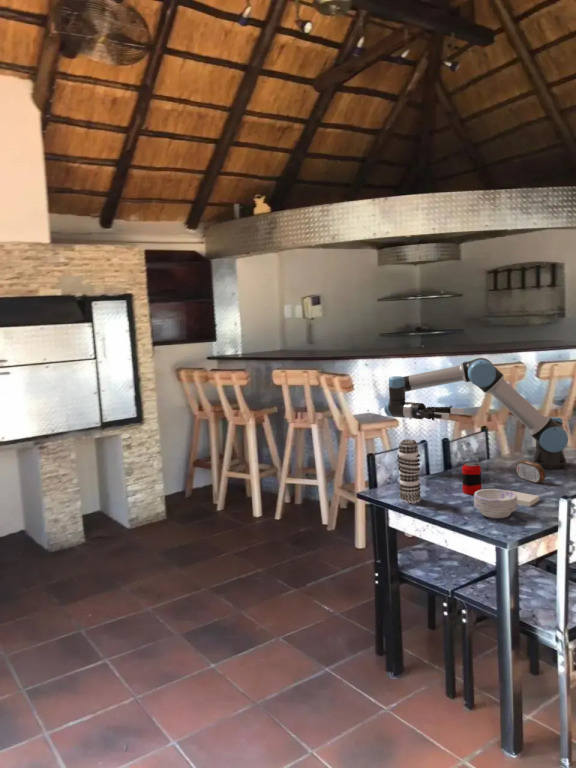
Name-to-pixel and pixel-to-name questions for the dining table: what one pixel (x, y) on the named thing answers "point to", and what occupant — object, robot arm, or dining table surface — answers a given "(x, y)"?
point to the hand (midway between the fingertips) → (456, 414)
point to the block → (526, 498)
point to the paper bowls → (495, 502)
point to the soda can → (471, 478)
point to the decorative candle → (409, 471)
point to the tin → (530, 471)
